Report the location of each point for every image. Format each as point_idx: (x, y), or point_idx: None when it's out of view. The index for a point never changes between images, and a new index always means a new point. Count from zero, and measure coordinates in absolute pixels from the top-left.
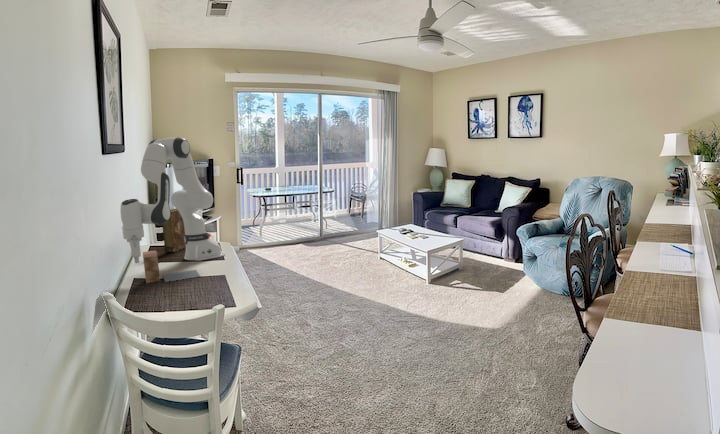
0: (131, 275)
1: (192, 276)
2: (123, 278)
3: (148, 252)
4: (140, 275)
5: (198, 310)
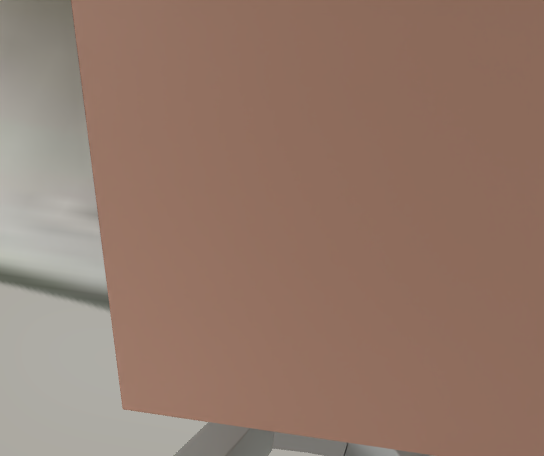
0: (19, 227)
1: None
2: (91, 289)
3: (398, 269)
4: (53, 162)
5: None
